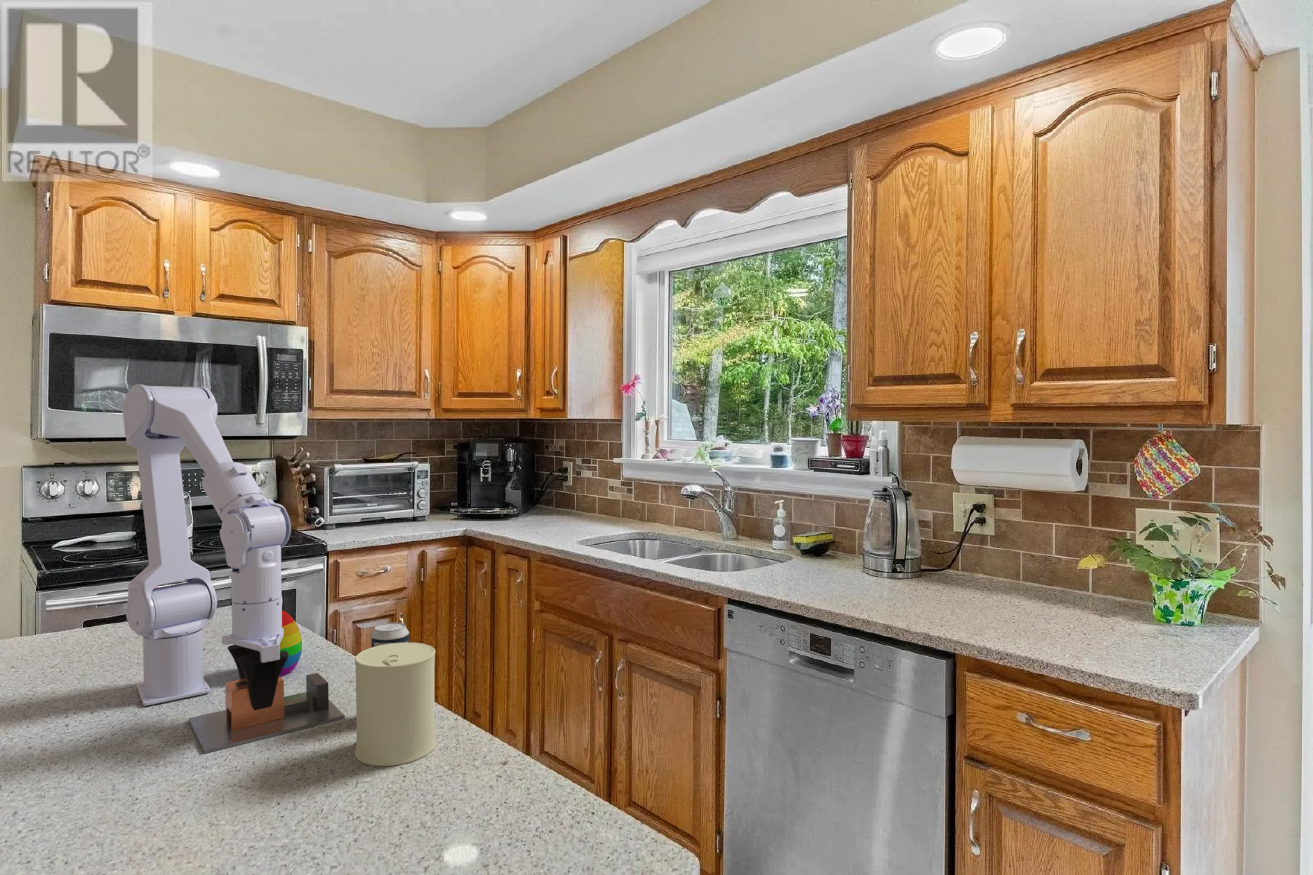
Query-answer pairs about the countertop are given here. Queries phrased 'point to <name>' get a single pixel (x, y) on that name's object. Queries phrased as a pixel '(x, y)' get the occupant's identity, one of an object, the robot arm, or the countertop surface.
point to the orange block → (250, 705)
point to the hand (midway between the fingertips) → (258, 702)
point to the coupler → (297, 713)
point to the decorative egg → (290, 643)
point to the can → (395, 703)
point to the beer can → (389, 634)
